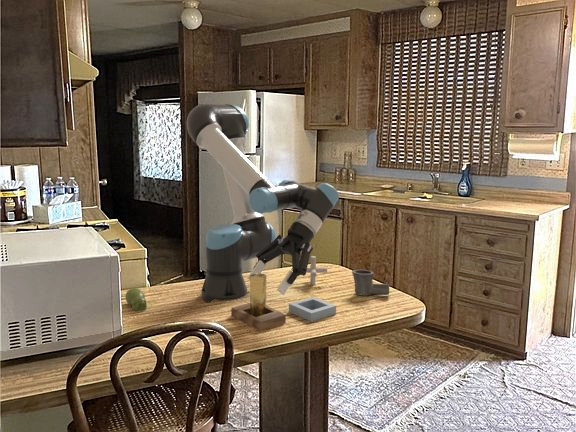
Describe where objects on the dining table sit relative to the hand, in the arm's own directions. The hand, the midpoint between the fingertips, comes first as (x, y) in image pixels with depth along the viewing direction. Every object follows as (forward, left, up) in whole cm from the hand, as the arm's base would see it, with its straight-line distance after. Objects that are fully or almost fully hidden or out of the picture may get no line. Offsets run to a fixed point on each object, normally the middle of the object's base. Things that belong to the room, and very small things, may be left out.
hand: (264, 286), depth 155 cm
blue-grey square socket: (+11, +10, -11) cm, 18 cm away
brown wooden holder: (-1, -2, -11) cm, 11 cm away
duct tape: (-9, -15, -12) cm, 21 cm away
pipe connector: (-1, +40, -11) cm, 42 cm away
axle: (-1, -2, -10) cm, 10 cm away
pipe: (+20, +38, -11) cm, 45 cm away
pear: (-41, -6, -11) cm, 43 cm away
